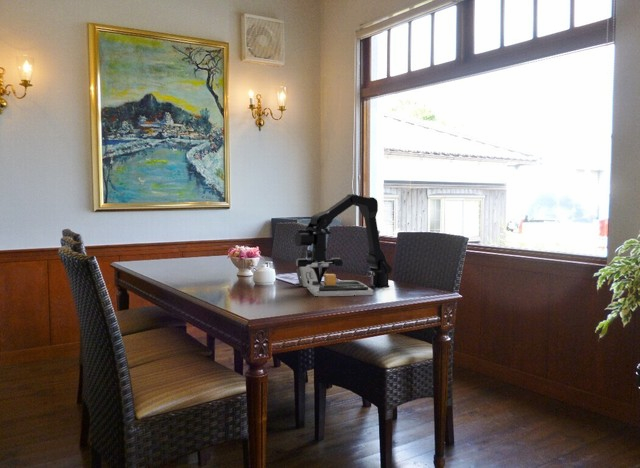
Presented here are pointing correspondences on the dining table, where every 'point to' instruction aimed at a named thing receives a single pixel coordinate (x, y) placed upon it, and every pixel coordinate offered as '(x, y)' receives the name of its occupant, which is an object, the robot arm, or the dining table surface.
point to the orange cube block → (329, 279)
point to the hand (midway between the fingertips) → (319, 282)
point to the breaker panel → (339, 288)
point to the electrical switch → (306, 275)
